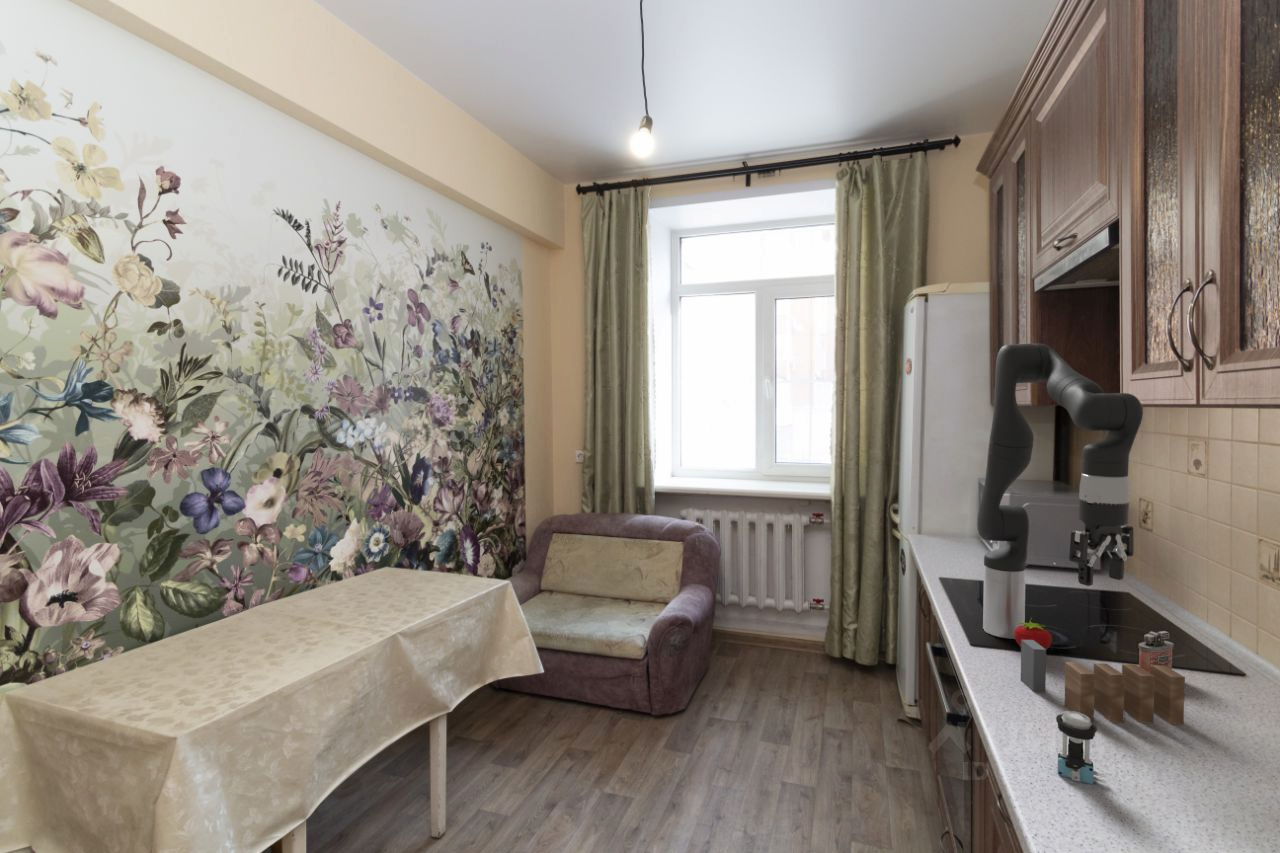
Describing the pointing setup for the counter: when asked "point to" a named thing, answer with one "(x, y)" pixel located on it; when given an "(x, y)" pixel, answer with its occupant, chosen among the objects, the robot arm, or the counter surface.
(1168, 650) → the lighter
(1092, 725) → the push button
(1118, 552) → the robot arm
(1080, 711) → the walnut tile
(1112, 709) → the walnut tile
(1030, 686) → the charcoal tile
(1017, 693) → the counter surface
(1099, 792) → the counter surface
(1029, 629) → the strawberry
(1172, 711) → the walnut tile
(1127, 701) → the walnut tile
